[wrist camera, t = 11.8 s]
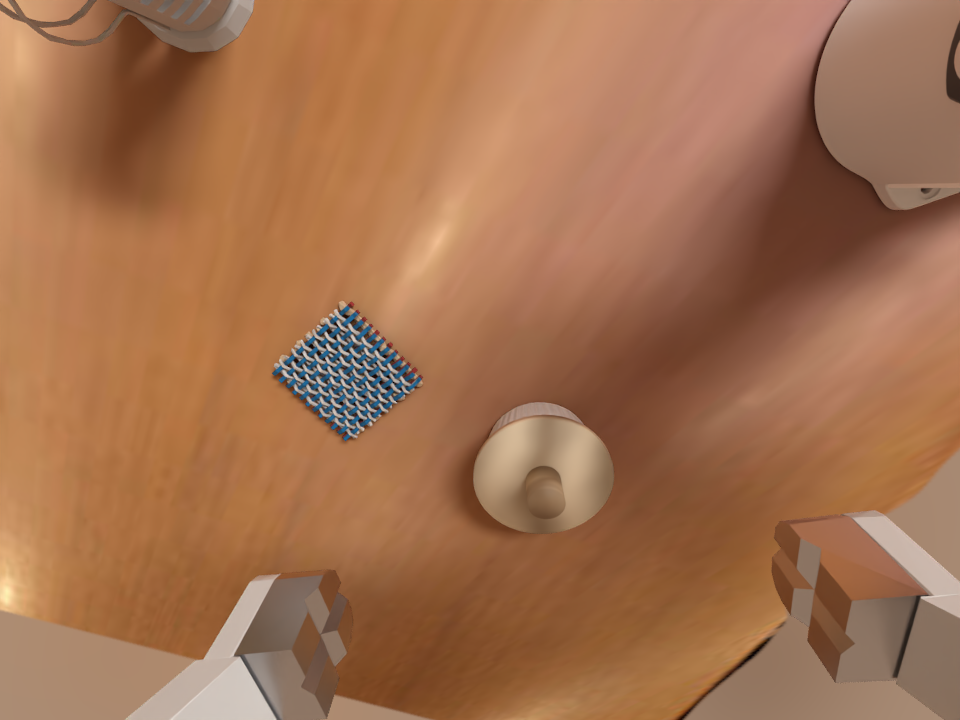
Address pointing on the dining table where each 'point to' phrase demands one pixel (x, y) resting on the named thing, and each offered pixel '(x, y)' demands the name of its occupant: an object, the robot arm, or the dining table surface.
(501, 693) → the dining table surface
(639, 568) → the dining table surface
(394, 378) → the woven mat
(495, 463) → the drop lid
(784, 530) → the robot arm
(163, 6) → the french press
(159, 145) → the dining table surface
